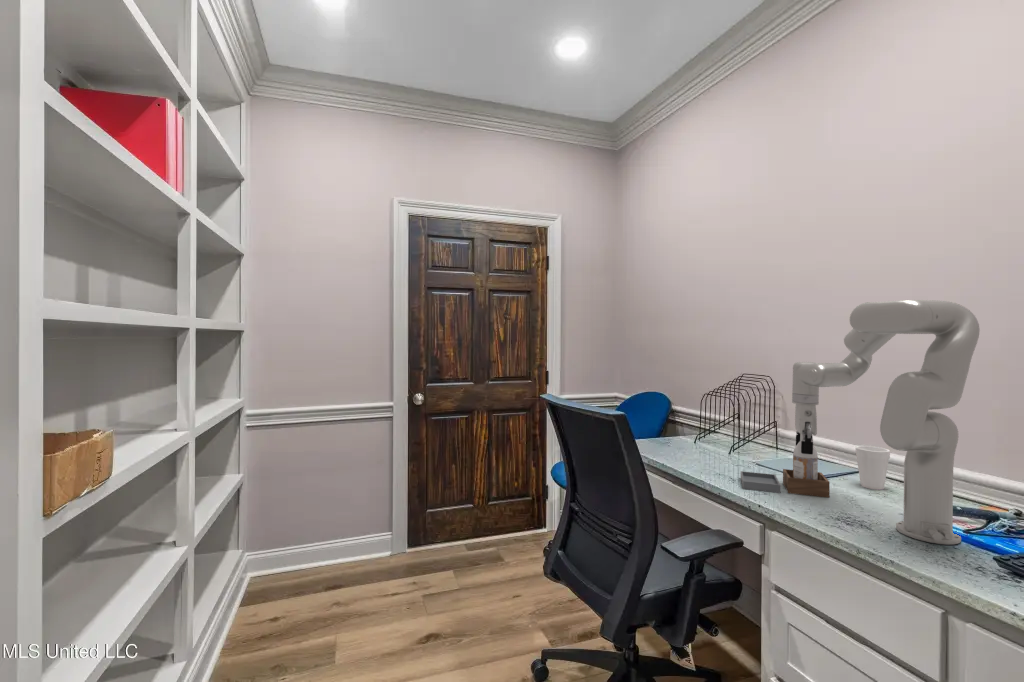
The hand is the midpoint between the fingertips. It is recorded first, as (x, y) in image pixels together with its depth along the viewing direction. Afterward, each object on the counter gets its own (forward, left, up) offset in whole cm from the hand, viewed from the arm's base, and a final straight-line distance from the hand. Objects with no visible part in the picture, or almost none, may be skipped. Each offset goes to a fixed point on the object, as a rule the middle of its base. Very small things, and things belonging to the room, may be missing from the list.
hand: (803, 450), depth 158 cm
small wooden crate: (0, 0, -13) cm, 13 cm away
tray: (0, +13, -13) cm, 19 cm away
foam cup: (+13, -22, -13) cm, 29 cm away
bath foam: (0, 0, -13) cm, 13 cm away
